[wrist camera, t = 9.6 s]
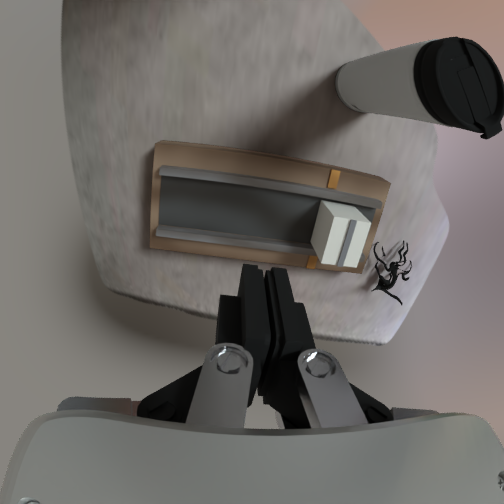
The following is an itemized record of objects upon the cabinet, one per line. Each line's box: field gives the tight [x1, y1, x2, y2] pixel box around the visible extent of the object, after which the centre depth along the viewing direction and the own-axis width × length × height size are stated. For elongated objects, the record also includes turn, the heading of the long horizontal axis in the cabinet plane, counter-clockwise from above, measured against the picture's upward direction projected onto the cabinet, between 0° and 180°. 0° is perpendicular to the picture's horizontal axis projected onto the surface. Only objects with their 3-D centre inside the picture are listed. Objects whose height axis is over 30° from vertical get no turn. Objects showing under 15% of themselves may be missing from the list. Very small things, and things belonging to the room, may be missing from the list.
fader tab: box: [310, 200, 371, 268], centre depth 31 cm, size 5×4×5 cm
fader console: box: [150, 140, 391, 274], centre depth 34 cm, size 12×26×4 cm, turn 81°
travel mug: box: [335, 37, 504, 139], centre depth 20 cm, size 6×7×20 cm
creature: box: [372, 240, 412, 305], centre depth 38 cm, size 8×5×8 cm
